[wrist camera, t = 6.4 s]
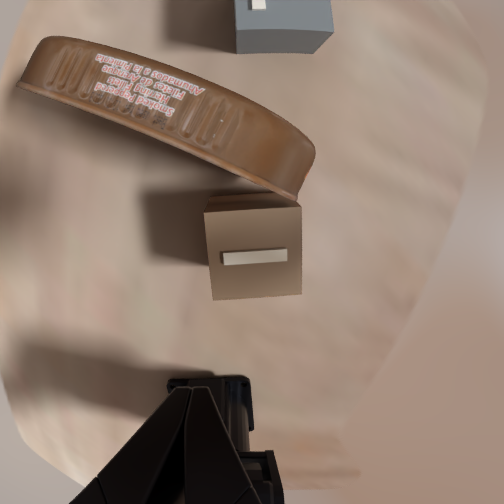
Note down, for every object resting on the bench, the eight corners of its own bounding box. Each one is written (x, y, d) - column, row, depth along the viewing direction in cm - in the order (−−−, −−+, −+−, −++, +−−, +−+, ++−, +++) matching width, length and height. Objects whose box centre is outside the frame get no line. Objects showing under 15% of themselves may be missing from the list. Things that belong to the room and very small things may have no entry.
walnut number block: (288, 262, 20) (302, 295, 16) (217, 266, 20) (212, 302, 16) (286, 191, 19) (302, 207, 15) (211, 196, 19) (203, 213, 14)
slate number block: (312, 54, 16) (335, 30, 12) (236, 54, 16) (236, 28, 12) (306, -7, 15) (325, -41, 10) (233, -8, 14) (233, -45, 10)
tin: (65, 100, 16) (-22, 90, 8) (85, 56, 15) (7, 22, 7) (279, 192, 19) (309, 231, 11) (303, 145, 18) (352, 151, 10)
